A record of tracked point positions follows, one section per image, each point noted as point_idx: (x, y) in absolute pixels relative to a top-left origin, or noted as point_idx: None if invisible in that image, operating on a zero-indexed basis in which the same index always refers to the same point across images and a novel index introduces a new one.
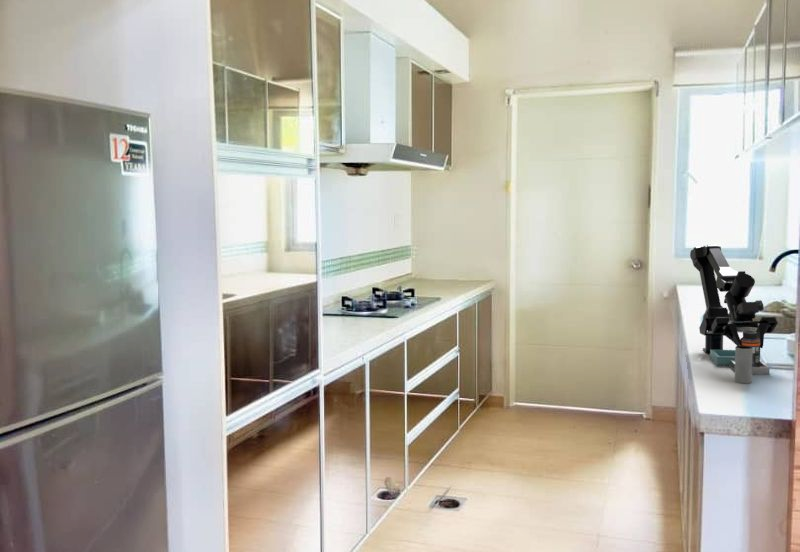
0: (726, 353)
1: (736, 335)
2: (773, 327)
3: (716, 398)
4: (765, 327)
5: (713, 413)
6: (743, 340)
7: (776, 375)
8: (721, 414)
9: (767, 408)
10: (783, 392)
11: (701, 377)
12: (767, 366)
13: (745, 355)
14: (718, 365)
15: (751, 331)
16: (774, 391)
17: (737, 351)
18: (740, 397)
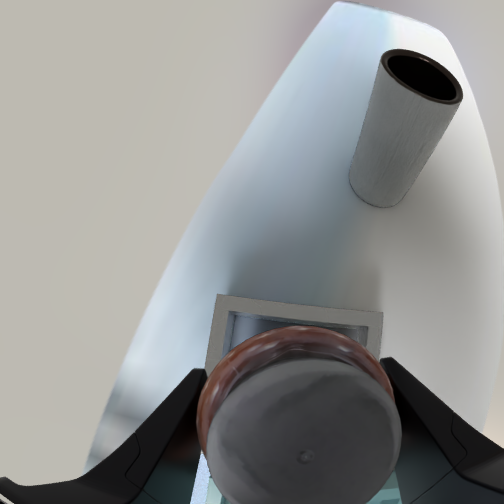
0: None
1: (452, 426)
2: (3, 501)
3: None
4: (53, 487)
5: (431, 27)
6: (385, 377)
7: (200, 283)
8: (421, 22)
9: (353, 21)
10: (285, 78)
11: (495, 250)
12: (218, 317)
13: (406, 76)
14: (394, 471)
15: (272, 481)
16: (306, 84)
17: (444, 85)
18: None
